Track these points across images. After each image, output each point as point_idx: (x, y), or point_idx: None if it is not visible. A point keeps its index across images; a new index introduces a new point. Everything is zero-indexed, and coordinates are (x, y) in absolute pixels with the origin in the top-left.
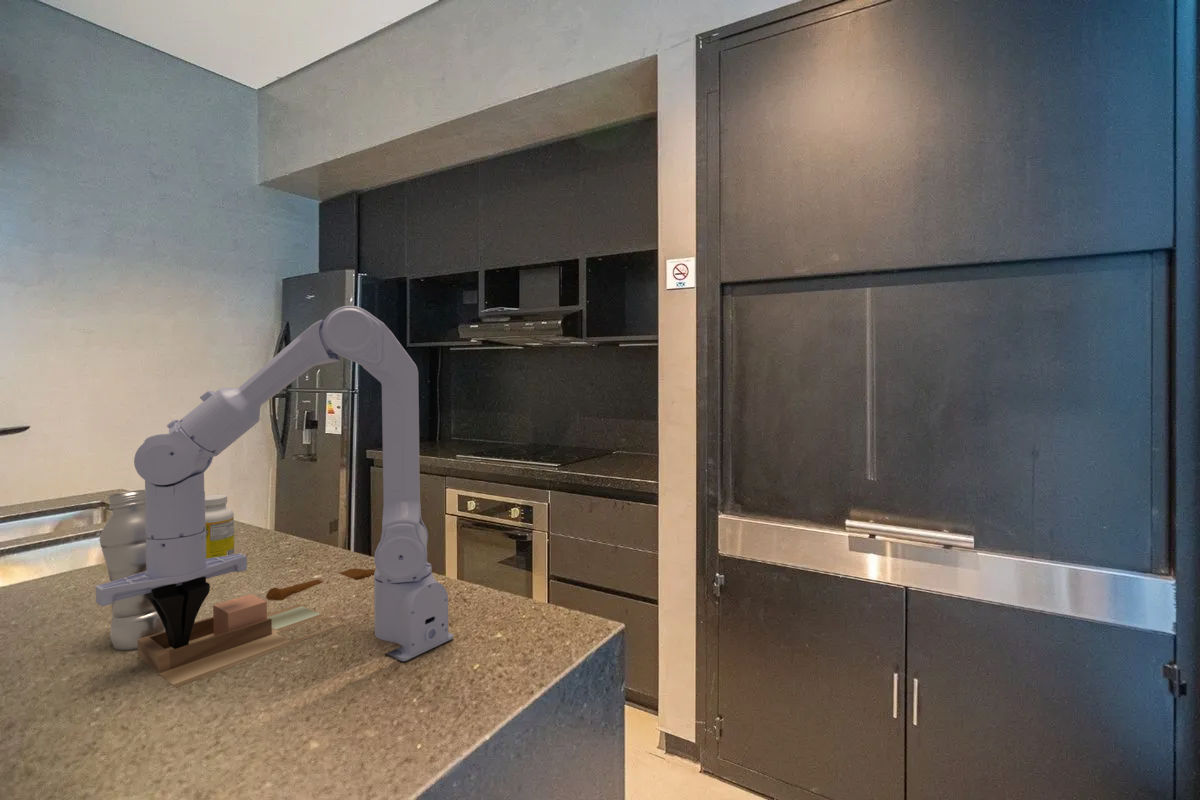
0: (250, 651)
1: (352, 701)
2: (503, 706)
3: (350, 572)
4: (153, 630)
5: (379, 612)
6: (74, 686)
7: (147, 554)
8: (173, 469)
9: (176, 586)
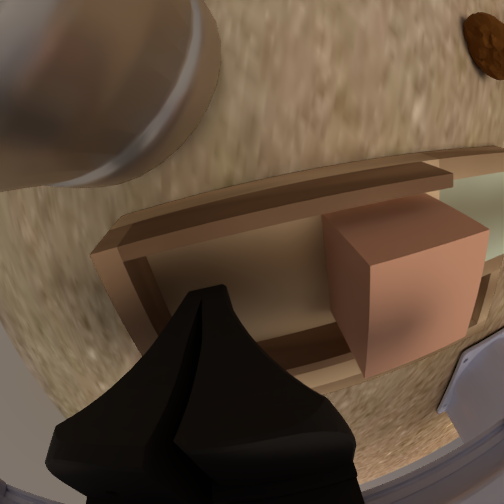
0: (346, 365)
1: (361, 449)
2: (408, 462)
3: None
4: (130, 179)
5: (477, 416)
6: (22, 230)
7: None
8: None
9: (213, 491)
